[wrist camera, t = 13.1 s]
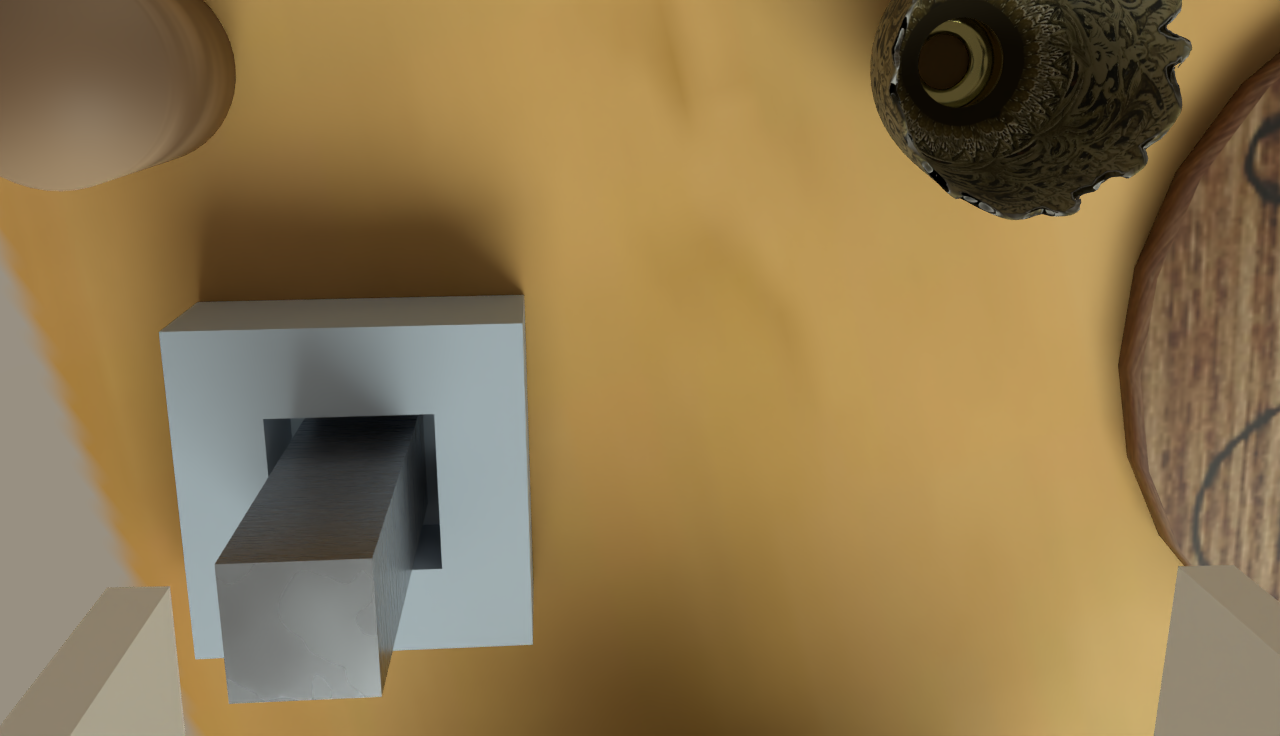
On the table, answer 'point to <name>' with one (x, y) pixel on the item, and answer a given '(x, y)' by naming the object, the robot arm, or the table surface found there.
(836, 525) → the table surface
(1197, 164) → the trivet
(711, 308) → the table surface
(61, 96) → the brown short cylinder
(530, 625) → the bore block
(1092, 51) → the ornate candle holder
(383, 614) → the square bit
